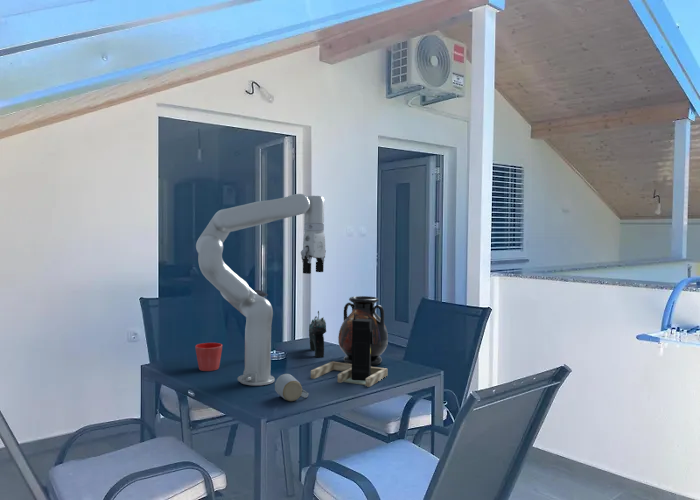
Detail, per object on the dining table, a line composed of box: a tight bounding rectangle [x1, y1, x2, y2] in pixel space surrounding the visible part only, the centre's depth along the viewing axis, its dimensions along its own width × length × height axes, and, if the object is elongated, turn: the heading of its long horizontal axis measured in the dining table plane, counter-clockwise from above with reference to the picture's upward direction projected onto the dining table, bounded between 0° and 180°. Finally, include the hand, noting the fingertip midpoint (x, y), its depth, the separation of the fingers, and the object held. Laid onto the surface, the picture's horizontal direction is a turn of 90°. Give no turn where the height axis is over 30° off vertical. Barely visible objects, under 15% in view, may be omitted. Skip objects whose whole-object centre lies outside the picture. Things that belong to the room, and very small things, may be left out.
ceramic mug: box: [274, 373, 309, 402], centre depth 192 cm, size 11×8×8 cm
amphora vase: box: [337, 295, 389, 367], centre depth 245 cm, size 22×22×28 cm
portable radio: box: [351, 313, 373, 381], centre depth 217 cm, size 8×6×25 cm
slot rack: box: [310, 361, 389, 388], centre depth 221 cm, size 18×24×3 cm
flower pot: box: [194, 342, 223, 372], centre depth 229 cm, size 11×11×10 cm
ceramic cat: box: [308, 310, 327, 358], centre depth 261 cm, size 20×6×20 cm, turn 13°
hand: (313, 272), depth 219 cm, fingers open, 9 cm apart
